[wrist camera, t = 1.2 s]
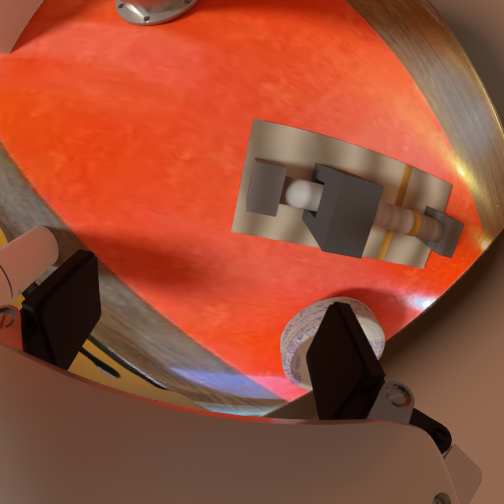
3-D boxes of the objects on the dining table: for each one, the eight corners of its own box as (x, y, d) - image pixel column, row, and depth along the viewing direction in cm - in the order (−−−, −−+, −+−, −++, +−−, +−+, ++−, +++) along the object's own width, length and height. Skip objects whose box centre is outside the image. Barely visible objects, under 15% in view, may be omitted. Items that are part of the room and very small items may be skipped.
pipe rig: (232, 229, 35) (228, 251, 28) (253, 119, 29) (255, 114, 23) (420, 265, 37) (443, 287, 31) (447, 183, 32) (477, 194, 26)
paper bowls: (365, 347, 44) (379, 379, 37) (282, 364, 45) (287, 399, 38) (370, 275, 38) (393, 305, 31) (271, 294, 39) (276, 329, 32)
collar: (301, 218, 33) (322, 251, 24) (315, 162, 30) (343, 174, 21) (331, 224, 33) (360, 258, 24) (346, 171, 30) (383, 186, 21)
